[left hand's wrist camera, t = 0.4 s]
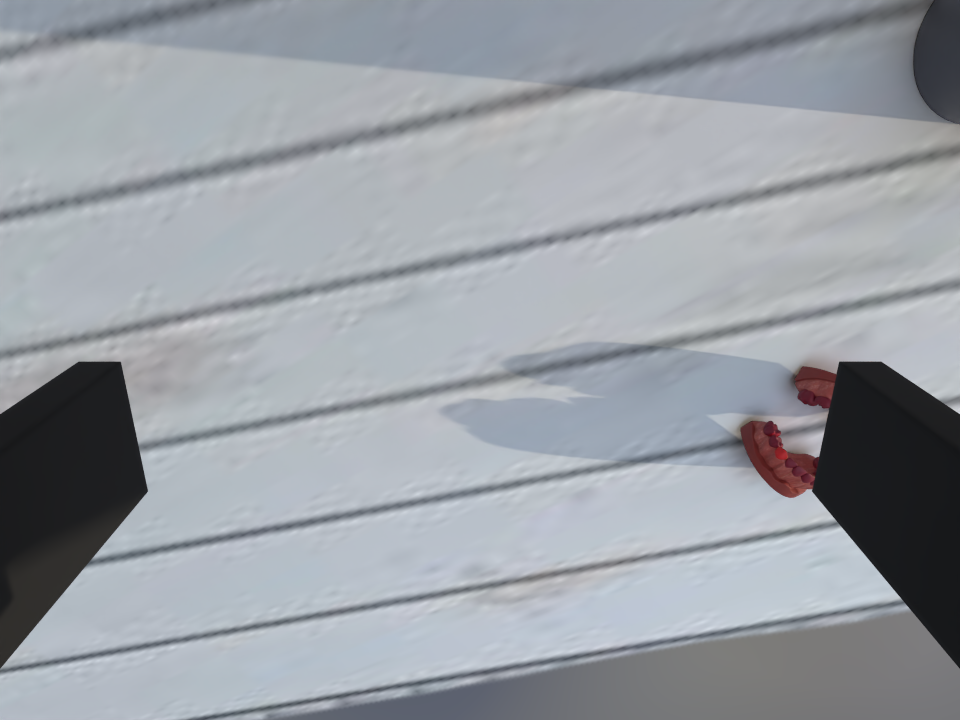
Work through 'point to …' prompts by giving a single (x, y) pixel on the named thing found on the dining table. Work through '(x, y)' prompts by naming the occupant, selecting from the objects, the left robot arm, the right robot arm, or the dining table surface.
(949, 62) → the bottle
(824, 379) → the dental model
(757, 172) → the dining table surface
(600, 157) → the dining table surface
